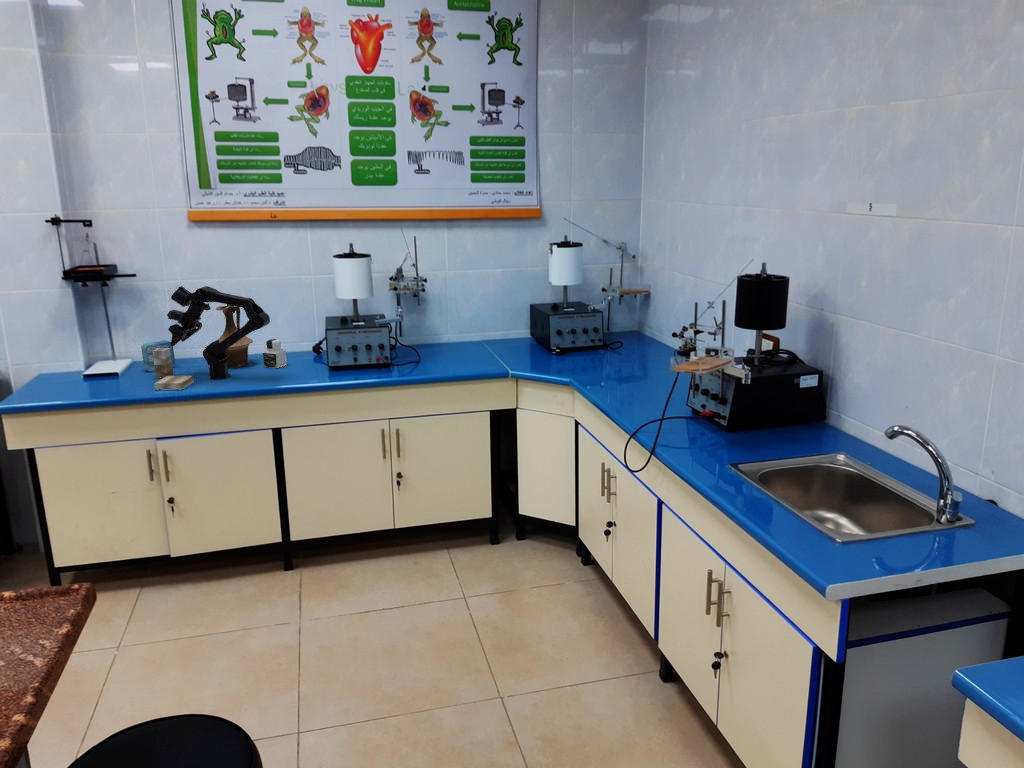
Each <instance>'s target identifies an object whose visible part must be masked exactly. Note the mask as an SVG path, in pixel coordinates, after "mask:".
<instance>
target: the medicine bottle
mask: <svg viewBox="0 0 1024 768" xmlns="http://www.w3.org/2000/svg"><path fill="white" fill-rule="evenodd" d="M265 345H266V350H265V351H263V352H262V357H263V366H264V367H263V368H265V367H269V368H268V369H275V368H278V369H280V368H283V367H285V365H286V366H287V365H288V362H287V361H288V360H287V350H286V349H282V342H281V340H280V339H277V338H275V339H274V338H272V339H268V340H266V343H265ZM282 366H283V367H282ZM279 367H280V368H279Z"/></svg>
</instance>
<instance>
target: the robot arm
mask: <svg viewBox="0 0 1024 768" xmlns="http://www.w3.org/2000/svg"><path fill="white" fill-rule="evenodd" d="M170 297H171V298H170V299H171V300H172V301H174V302H175V303H177V304H179V305H180V306H181V307H182V308H185V307H187V309H186V311H185V312H184V311H182V310H181V311H180V310H177V309H171V310H169V311H168V312H167V314H166V316H167V319H168V320H169V321H170V320H173V321H176V323H174V324H171V325H170V326H169V327H168V332H170V334H171V340H170V342H171V346H172V347H173V348H174V346H176V345H177V344H178V343H179V342H182V343H184V342H185V341H186V340H188V339H189V338H191V337H192V336H193V335H195V334H196V333H198V332H199V331H200V330H201V329H202V328H203V324H202V322H200V321H201V320H202V318H201V317H202V315H203V312H204V311H205V312H207V311H209V310H211V309H212V308H211V306H210V303H219V304H223V305H227V304H228V305H233V306H237V307H240V308H242V309H243V311H244V313H245V315H246V317H247V319H248V320H247V322H245V324H244V325H243V326H242V327H240V329H239V330H237V331H236V332H234V333H233V334H231V335H230V336H229V337H227V338H226V339H224V340H223V341H221V342H219V340H218V339H216V340H214V341H212V342H210V343H209V344H208V345H206V346H204V349H203V350H202V357H203V358H204V360H205V361H206V363H207V365H208V366H209V367H208V371H209V379H210V380H225V379H227V378H228V377H229V376H231V373H229V368H228V366H227V362H226V361H228V359H229V356H228V355H227V354H226V353H225V352H226V350H227V349H228V348H229V347H230V346H232V345H233V344H235V343H236V342H238V341H239V340H241V339H242V338H243V337H245V336H246V337H247V336H248V335H250V334H251V333H252V332H255V331H257V330H260V329H261V328H263V327H266V326H268V325H269V324H270V321H271V319H270V315H269V314H268V313H266V312H265V311H264V309H263V308H262V307H260V305H258V304H257V303H256V302H255V300H254V299H253V298H251V297H244V296H240V295H235V294H231V293H224V292H222V291H219V290H217V289H216V288H214V287H211V286H208V285H207V286H206V285H205V286H202V287H199V288H196V289H195V291H194V292H191V291H189V290H188V289H186V288H185V287H184V286H182V285H181V286H178V288H177V289H176V290H175V291H174V292H173V293H172V294H171V296H170ZM226 377H227V378H226Z"/></svg>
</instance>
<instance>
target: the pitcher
mask: <svg viewBox="0 0 1024 768" xmlns="http://www.w3.org/2000/svg"><path fill="white" fill-rule="evenodd" d="M215 310H216V311H221V312H222V313H223V315H224V318H225V328H224V331H223V332H222V334H221V335H220V337H219V338H218V339H217V340H219V342H221V341H223V340H224V339H226V338H227V337H229V336H230V335H231V334H233V333H234V332H236V331H237V330H239V329H240V328H241V327H240V326H241V307H237V306H233V305H228V304H226V305H223V306H222V305H220V306H217V307H216V308H215ZM234 314H235V315H236V320H235V318H234ZM235 321H236V323H235ZM253 342H254V340H253V339H252V338H250V337H248V336H247V335H246V336H245V337H243V338H242V339H241V340H239V341H238V342H236V343H235V344H233V345H232V346H230V347H229V348H228V349H227V350H226V352H225V353H226V354H227V355H228V356H229V359H228V361H226V362H227V366H228V369H231V368H232V369H234V367H236V368H241V367H246V366H247V365H248V364H249V345H250V344H252V343H253Z"/></svg>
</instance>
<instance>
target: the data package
mask: <svg viewBox="0 0 1024 768" xmlns="http://www.w3.org/2000/svg"><path fill="white" fill-rule="evenodd" d="M157 348H170V353H171V361H172V368H175V367H176V358H175V351H174V350H175V349H174V346H173V347H172V346H171V341H170V340H164V339H163V340H158V341H153V342H146V343H142V345H141V348H140V349H141V355H142V361H143V363H142V364H143V368H144V369H145V371H147V372H150V373H152V372H151V371H154V372H155V366H154V359H153V352H152V351H153V350H155V349H157Z"/></svg>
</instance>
